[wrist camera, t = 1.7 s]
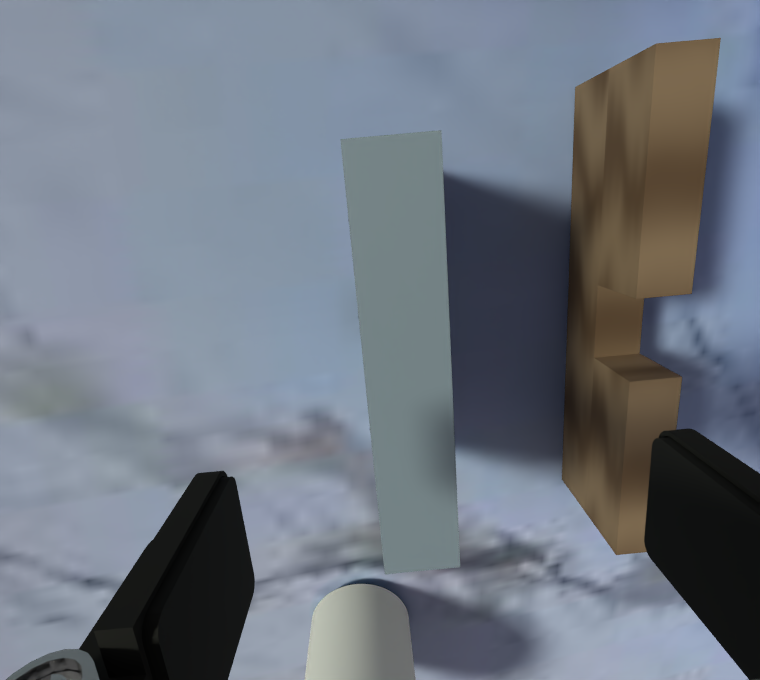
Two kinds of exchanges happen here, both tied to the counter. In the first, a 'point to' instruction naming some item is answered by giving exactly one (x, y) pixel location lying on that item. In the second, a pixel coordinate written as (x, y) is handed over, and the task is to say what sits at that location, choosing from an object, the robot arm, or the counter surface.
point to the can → (360, 636)
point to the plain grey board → (405, 342)
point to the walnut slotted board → (630, 269)
